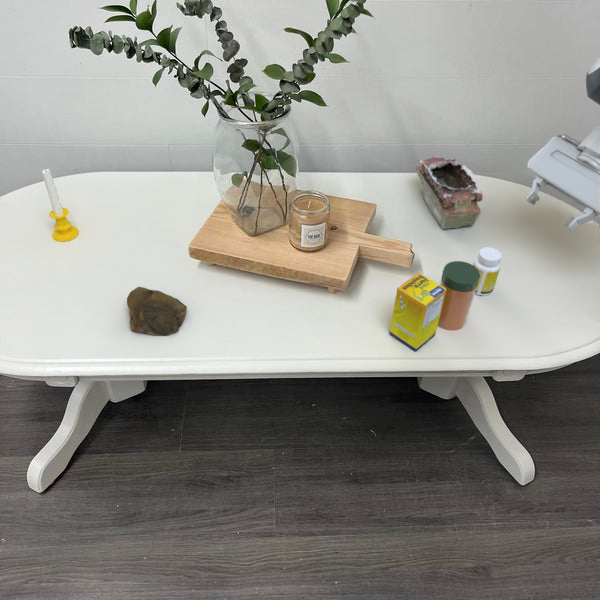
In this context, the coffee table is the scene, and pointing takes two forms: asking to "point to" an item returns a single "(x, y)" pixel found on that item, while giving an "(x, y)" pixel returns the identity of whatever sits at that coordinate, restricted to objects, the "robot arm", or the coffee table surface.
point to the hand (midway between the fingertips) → (547, 214)
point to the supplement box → (417, 311)
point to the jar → (455, 308)
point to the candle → (58, 212)
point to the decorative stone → (154, 312)
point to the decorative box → (449, 191)
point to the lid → (460, 276)
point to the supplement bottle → (487, 270)
